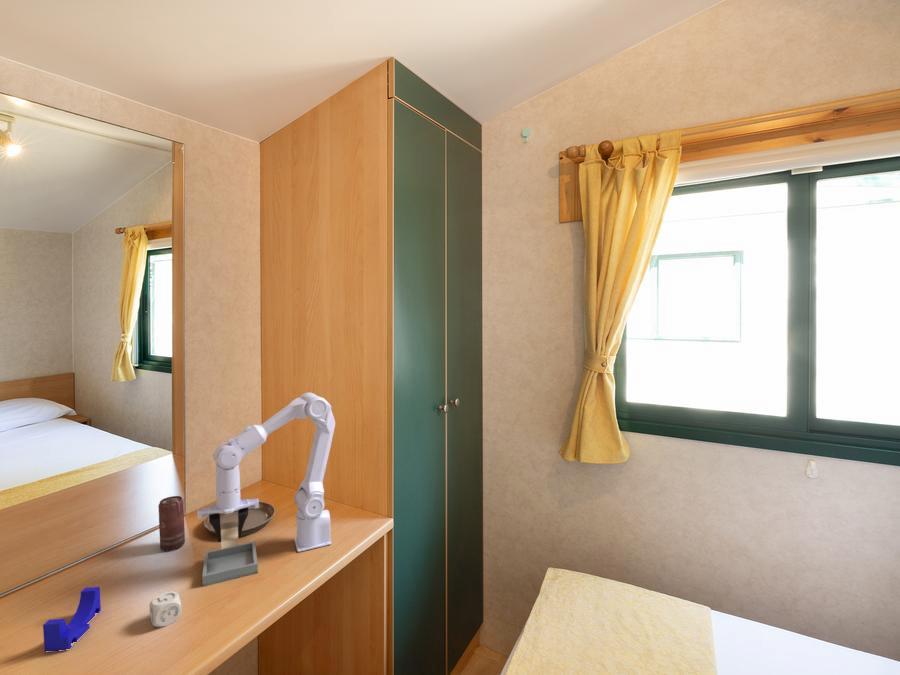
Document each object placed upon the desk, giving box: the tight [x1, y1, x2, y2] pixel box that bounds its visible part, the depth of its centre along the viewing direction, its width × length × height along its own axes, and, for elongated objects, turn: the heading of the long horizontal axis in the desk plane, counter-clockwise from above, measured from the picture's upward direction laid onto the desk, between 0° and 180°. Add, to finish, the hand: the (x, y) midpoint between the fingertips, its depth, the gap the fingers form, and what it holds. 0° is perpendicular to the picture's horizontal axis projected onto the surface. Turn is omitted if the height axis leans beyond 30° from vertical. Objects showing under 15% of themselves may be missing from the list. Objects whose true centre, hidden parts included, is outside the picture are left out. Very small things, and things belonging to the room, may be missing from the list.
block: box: [220, 521, 239, 549], centre depth 118 cm, size 4×4×5 cm
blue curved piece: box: [42, 586, 102, 653], centre depth 95 cm, size 12×4×6 cm, turn 7°
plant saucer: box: [203, 501, 276, 537], centre depth 142 cm, size 21×21×3 cm
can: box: [158, 495, 186, 552], centre depth 128 cm, size 6×6×14 cm
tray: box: [201, 540, 259, 587], centre depth 118 cm, size 13×13×2 cm
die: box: [148, 590, 182, 628], centre depth 98 cm, size 5×5×5 cm
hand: (229, 538), depth 118 cm, fingers closed on block, 4 cm apart
